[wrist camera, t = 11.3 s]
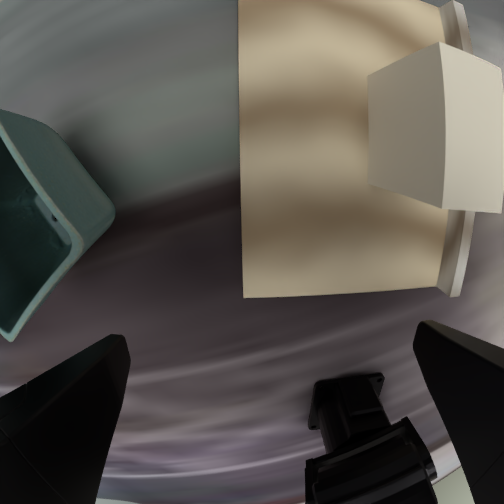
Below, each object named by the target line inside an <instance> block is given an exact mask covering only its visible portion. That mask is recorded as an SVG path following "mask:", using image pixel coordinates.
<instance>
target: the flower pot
mask: <svg viewBox="0 0 504 504" xmlns="http://www.w3.org/2000/svg"><path fill="white" fill-rule="evenodd" d="M115 212H116V210H115V207H114V205H113V203H112V202H111V200H110V199H109V198H108V196H107V195H106V194H105V193H104V192H103V190H102V189H101V188H100V187H99V186H98V184H97V183H96V182H95V181H94V179H93V178H92V177H91V176H90V174H89V173H88V172H87V171H86V169H85V168H84V167H83V165H82V164H81V163H80V162H79V160H78V159H77V158H76V156H75V155H74V154H73V152H72V151H71V149H70V148H69V147H68V145H67V144H66V143H65V142H64V140H63V139H62V138H61V137H60V136H59V135H58V134H57V133H56V132H55V131H54V130H53V129H51V128H50V127H48V126H47V125H45V124H44V123H42V122H39V121H37V120H34V119H31V118H28V117H25V116H22V115H19V114H15V113H12V112H9V111H5V110H2V109H0V333H1V334H2V335H3V336H4V337H5V338H6V339H7V340H8V341H9V342H12V341H14V339H15V338H16V337H17V335H18V334H19V333H20V331H21V330H22V329H23V327H24V326H25V325H26V323H27V322H28V321H29V320H30V318H31V317H32V316H33V315H34V313H35V312H36V311H37V310H38V309H39V307H40V306H41V305H42V304H43V303H44V301H45V300H46V299H47V298H48V296H49V295H50V294H51V292H52V291H53V290H54V288H55V287H56V286H57V285H58V283H59V282H60V281H61V280H62V278H63V277H64V276H65V275H66V273H67V272H68V271H69V270H70V269H71V268H72V266H73V265H74V264H75V263H76V262H77V261H78V260H79V258H80V257H81V256H82V255H83V254H84V253H85V252H86V251H87V250H88V249H89V248H90V247H91V245H92V244H93V243H94V242H95V241H96V240H97V239H98V238H99V237H100V236H101V235H102V234H103V233H104V232H105V231H106V230H107V229H108V228H109V227H110V226H111V224H112V223H113V221H114V218H115ZM54 216H55V218H56V219H57V220H58V221H57V220H55V218H54Z"/></svg>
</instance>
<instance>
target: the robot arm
mask: <svg viewBox="0 0 504 504" xmlns="http://www.w3.org/2000/svg"><path fill="white" fill-rule="evenodd" d="M413 350H414V353H415V356H416V358H417V361H418V364H419V366H420V369H421V372H422V374H423V377H424V380H425V382H426V385H427V387H428V390H429V392H430V394H431V396H432V398H433V400H434V402H435V405H436V407H437V409H438V411H439V413H440V415H441V418H442V420H443V422H444V424H445V427H446V429H447V431H448V434H449V436H450V438H451V441H452V443H453V446H454V448H455V450H456V453H457V455H458V458H459V460H460V463H461V466H462V468H463V471H464V473H465V476H466V479H467V482H468V484H469V487H470V490H471V493H472V496H473V499H474V502H475V504H504V349H503V348H501V347H498V346H496V345H493V344H491V343H488V342H486V341H483V340H481V339H478V338H476V337H473V336H471V335H468V334H466V333H463V332H460V331H458V330H455V329H453V328H450V327H448V326H445V325H443V324H440V323H438V322H435V321H433V320H426V321H421V322H420V323H419V324H418V327H417V330H416V334H415V338H414V341H413ZM130 364H131V359H130V354H129V351H128V347H127V343H126V340H125V337H124V336H123V335H117V334H110V335H108V336H107V337H105V338H103V339H101V340H100V341H98V342H96V343H94V344H93V345H91V346H89V347H88V348H86V349H84V350H82V351H81V352H79V353H77V354H76V355H74V356H72V357H70V358H69V359H67V360H65V361H63V362H62V363H60V364H58V365H57V366H55V367H53V368H51V369H50V370H48V371H46V372H44V373H43V374H41V375H39V376H38V377H36V378H34V379H32V380H31V381H29V382H27V384H24V385H22V386H20V387H19V388H17V389H15V390H13V391H11V392H10V393H8V394H6V395H4V396H2V397H0V504H95V502H96V497H97V493H98V489H99V485H100V481H101V477H102V473H103V470H104V466H105V462H106V459H107V455H108V451H109V448H110V444H111V441H112V437H113V434H114V431H115V427H116V424H117V421H118V418H119V414H120V411H121V408H122V404H123V399H124V394H125V389H126V384H127V379H128V374H129V369H130ZM384 379H385V377H384V376H383V374H382V373H378V374H372V375H365V376H359V377H352V378H344V379H336V380H327V381H320V382H317V383H316V384H315V386H314V392H313V398H312V404H311V410H310V416H309V422H308V427H309V429H310V430H317V429H320V430H321V434H322V438H323V442H324V445H325V449H326V453H327V454H325V455H322V456H320V457H317V458H314V459H313V458H311V459H308V460H306V468H305V499H306V502H305V504H438V502H437V498H436V495H435V492H434V490H433V487H432V484H431V481H432V480H434V479H436V478H437V472H436V469H435V466H434V463H433V460H432V458H431V456H430V453H429V451H428V449H427V447H426V446H425V444H424V442H423V441H422V439H421V437H420V436H419V434H418V433H417V431H416V430H415V428H414V426H413V425H412V423H411V422H410V420H409V419H408V417H407V416H406V417H404V418H402V419H401V421H399V422H397V423H395V424H393V425H391V424H390V422H389V419H388V417H387V415H386V413H385V411H384V409H383V406H382V403H381V401H380V399H379V395H380V392H381V389H382V386H383V382H384ZM321 386H322V387H321Z"/></svg>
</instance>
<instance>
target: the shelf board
mask: <svg viewBox="0 0 504 504" xmlns="http://www.w3.org/2000/svg"><path fill="white" fill-rule="evenodd" d="M238 40H239V123H240V179H241V224H242V263H243V298H261V297H288V296H310V295H329V294H345V293H361V292H375V291H388V290H400V289H411V288H422V287H433V286H437V287H438V288H439V289H440V290H442V291H443V292H444V293H445V294H446V295H448V296H449V297H456V296H459V295H460V291H461V287H462V283H463V278H464V274H465V269H466V264H467V259H468V254H469V249H470V243H471V237H472V231H473V224H474V216H475V211H466V210H451V209H441V208H438V207H435V206H432V205H430V204H427V203H424V202H421V201H419V200H416V199H413V198H410V197H407V196H404V195H401V194H398V193H395V192H392V191H389V190H386V189H383V188H380V187H377V186H373V185H370V184H367V182H368V148H369V117H368V85H367V76H368V75H370V74H372V73H374V72H376V71H378V70H380V69H382V68H383V67H385V66H387V65H389V64H391V63H393V62H396V61H398V60H400V59H402V58H404V57H406V56H408V55H410V54H412V53H414V52H417V51H419V50H421V49H423V48H425V47H428V46H430V45H432V44H434V43H437V42H442V43H444V44H447V45H450V46H452V47H455V48H457V49H460V50H462V51H465V52H467V53H469V54H472V55H473V51H472V45H471V40H470V34H469V29H468V25H467V20H466V16H465V12H464V8H463V5H462V4H460V3H458V2H456V1H454V0H452V1H450V2H448V3H446V4H445V5H443V6H441V7H439V8H438V7H435V6H433V5H430V4H427V3H425V2H422V1H419V0H238Z"/></svg>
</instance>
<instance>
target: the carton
mask: <svg viewBox="0 0 504 504" xmlns="http://www.w3.org/2000/svg"><path fill="white" fill-rule="evenodd" d="M367 85H368V117H369V148H368V182H367V184H370V185H373V186H377V187H380V188H383V189H386V190H389V191H392V192H395V193H398V194H401V195H404V196H407V197H410V198H413V199H416V200H419V201H421V202H424V203H427V204H430V205H432V206H435V207H438V208H441V209H451V210H466V211H479V212H491V213H501V210H502V201H503V191H504V91H503V82H502V74H501V68H499V67H497V66H495V65H493V64H491V63H489V62H487V61H485V60H483V59H481V58H478V57H476V56H474V55H472V54H469V53H467V52H465V51H462V50H460V49H457V48H455V47H452V46H450V45H447V44H444V43H442V42H437V43H434V44H432V45H430V46H428V47H425V48H423V49H421V50H419V51H417V52H414V53H412V54H410V55H408V56H406V57H404V58H402V59H400V60H398V61H396V62H393V63H391V64H389V65H387V66H385V67H383V68H382V69H380V70H378V71H376V72H374V73H372V74H370V75H368V76H367Z"/></svg>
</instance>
